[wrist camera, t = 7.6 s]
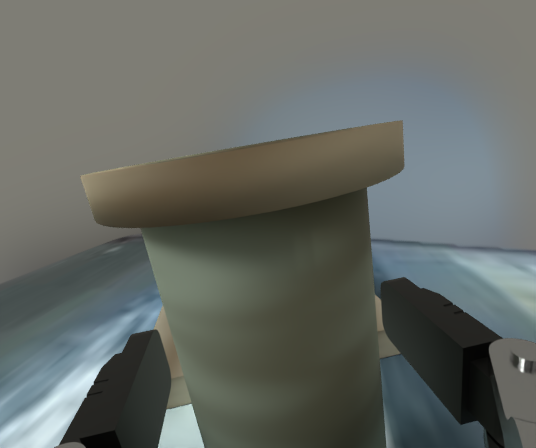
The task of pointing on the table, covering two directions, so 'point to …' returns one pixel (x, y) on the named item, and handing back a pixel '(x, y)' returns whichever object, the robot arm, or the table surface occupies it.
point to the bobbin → (267, 281)
